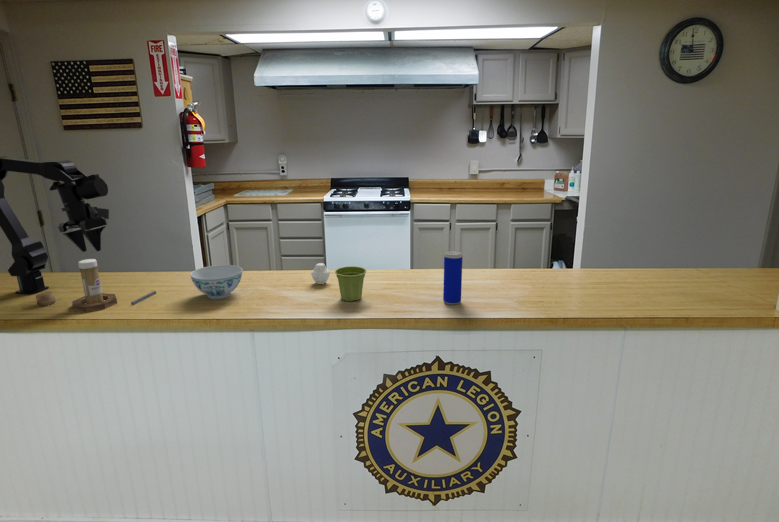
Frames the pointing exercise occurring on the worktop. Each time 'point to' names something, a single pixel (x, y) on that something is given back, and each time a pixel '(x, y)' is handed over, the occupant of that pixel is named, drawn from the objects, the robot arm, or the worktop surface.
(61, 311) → the worktop surface
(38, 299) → the small wooden bead
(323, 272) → the white owl figurine
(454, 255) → the beverage can
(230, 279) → the chinaware
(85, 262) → the sprinkles bottle
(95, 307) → the walnut ring
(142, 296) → the grey rectangular bar
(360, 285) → the plant pot
